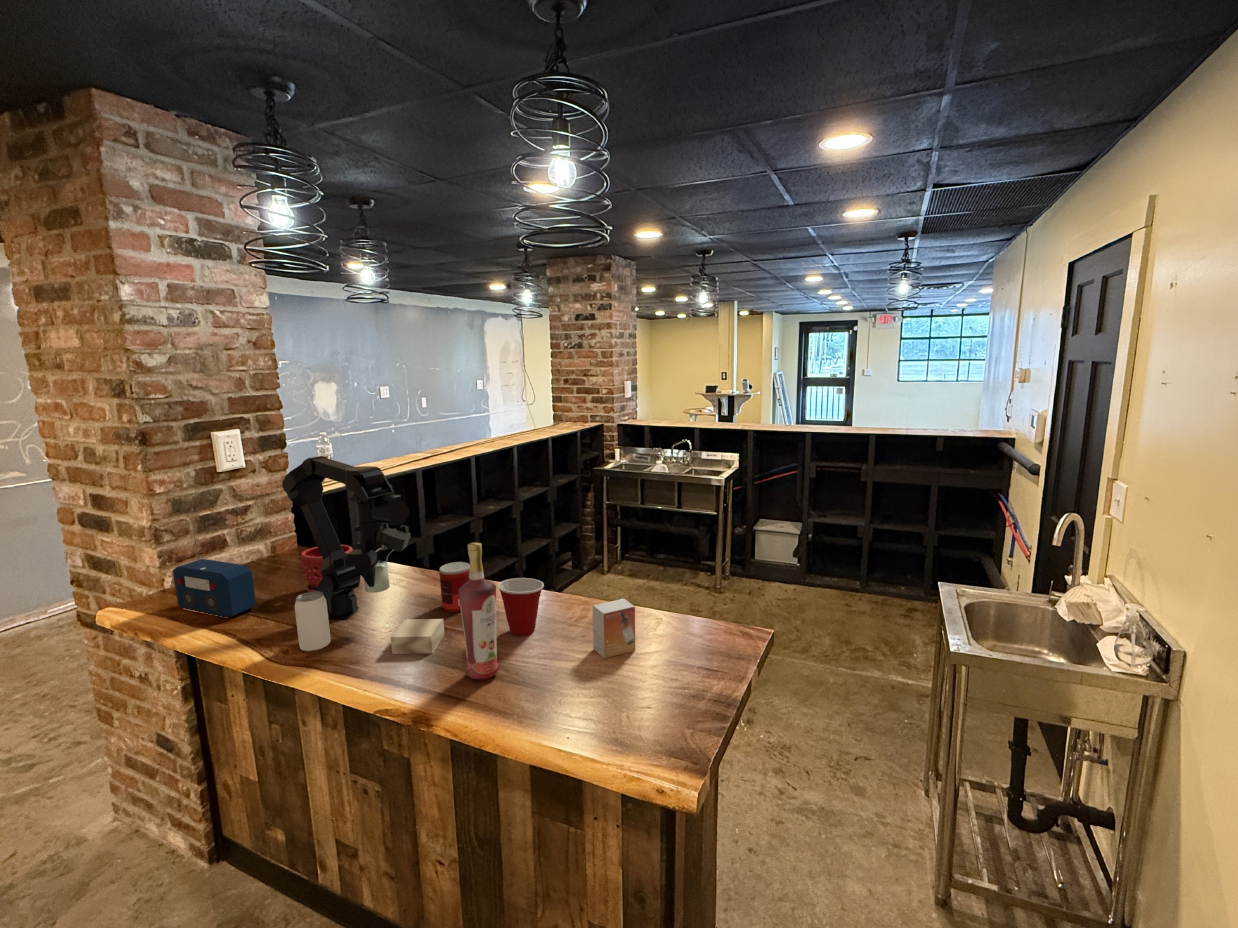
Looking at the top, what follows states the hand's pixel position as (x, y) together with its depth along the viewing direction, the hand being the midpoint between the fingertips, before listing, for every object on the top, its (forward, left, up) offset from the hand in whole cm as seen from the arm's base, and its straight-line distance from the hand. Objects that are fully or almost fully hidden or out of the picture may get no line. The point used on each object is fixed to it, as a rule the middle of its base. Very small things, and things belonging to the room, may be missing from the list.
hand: (376, 582), depth 145 cm
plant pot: (-24, +24, -12) cm, 36 cm away
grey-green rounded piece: (0, 0, -2) cm, 2 cm away
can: (-11, -10, -12) cm, 19 cm away
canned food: (+16, +11, -12) cm, 23 cm away
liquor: (+31, -24, -12) cm, 41 cm away
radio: (-48, +11, -12) cm, 51 cm away
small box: (+58, -14, -12) cm, 61 cm away
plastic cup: (+36, -4, -12) cm, 38 cm away
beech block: (+13, -10, -11) cm, 20 cm away
